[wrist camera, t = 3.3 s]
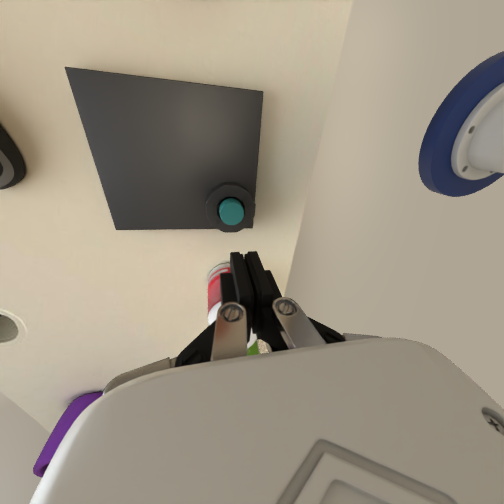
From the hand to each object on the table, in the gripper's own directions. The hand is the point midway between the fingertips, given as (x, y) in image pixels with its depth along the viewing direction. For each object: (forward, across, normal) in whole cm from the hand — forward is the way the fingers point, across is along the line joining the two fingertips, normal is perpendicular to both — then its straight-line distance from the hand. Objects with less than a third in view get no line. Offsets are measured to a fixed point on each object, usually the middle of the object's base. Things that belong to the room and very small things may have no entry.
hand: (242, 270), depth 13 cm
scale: (+14, +4, -4) cm, 15 cm away
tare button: (+12, 0, 0) cm, 12 cm away
